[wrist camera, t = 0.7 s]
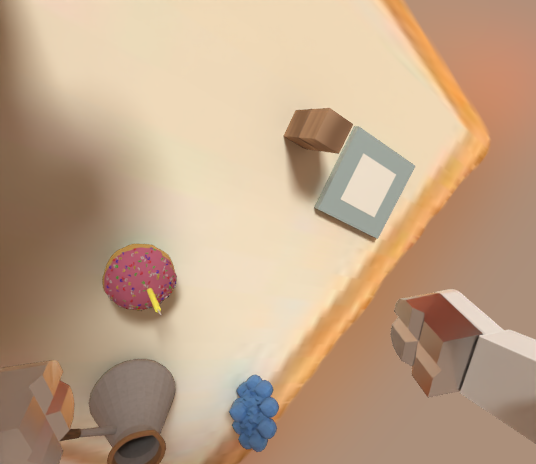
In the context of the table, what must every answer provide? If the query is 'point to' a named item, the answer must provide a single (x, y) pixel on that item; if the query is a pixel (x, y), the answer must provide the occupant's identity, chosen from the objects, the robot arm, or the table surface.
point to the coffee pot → (131, 411)
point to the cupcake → (139, 277)
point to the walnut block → (318, 129)
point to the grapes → (254, 413)
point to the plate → (365, 183)
